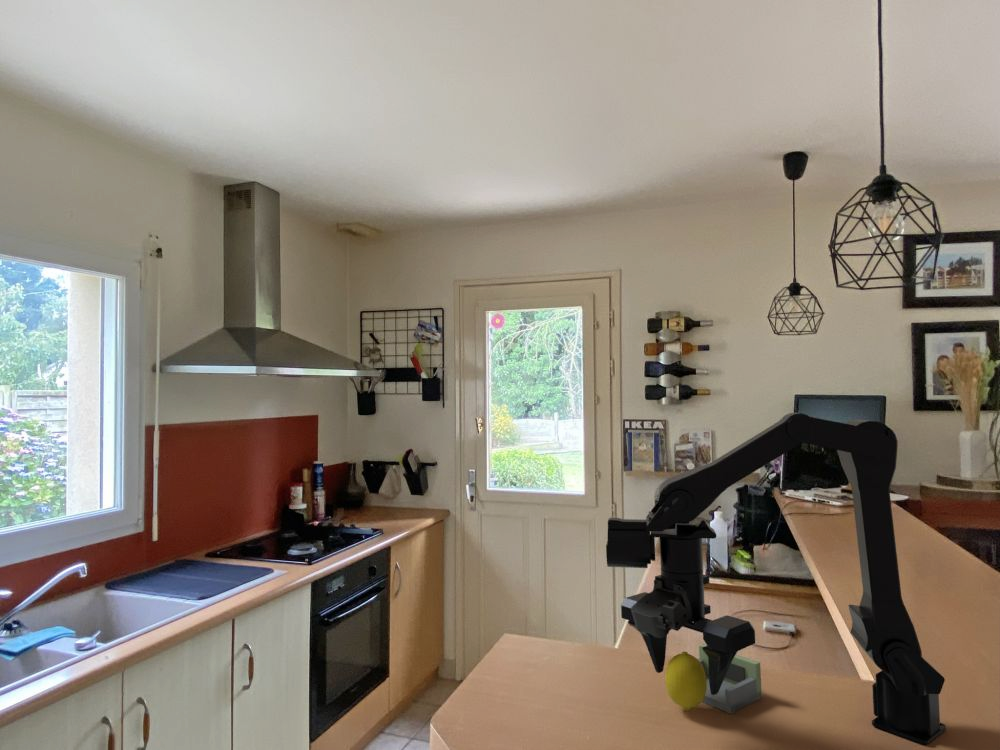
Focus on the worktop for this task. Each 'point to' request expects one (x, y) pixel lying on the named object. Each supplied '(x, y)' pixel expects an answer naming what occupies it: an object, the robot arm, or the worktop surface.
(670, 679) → the lemon
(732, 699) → the miniature couch
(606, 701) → the worktop surface
